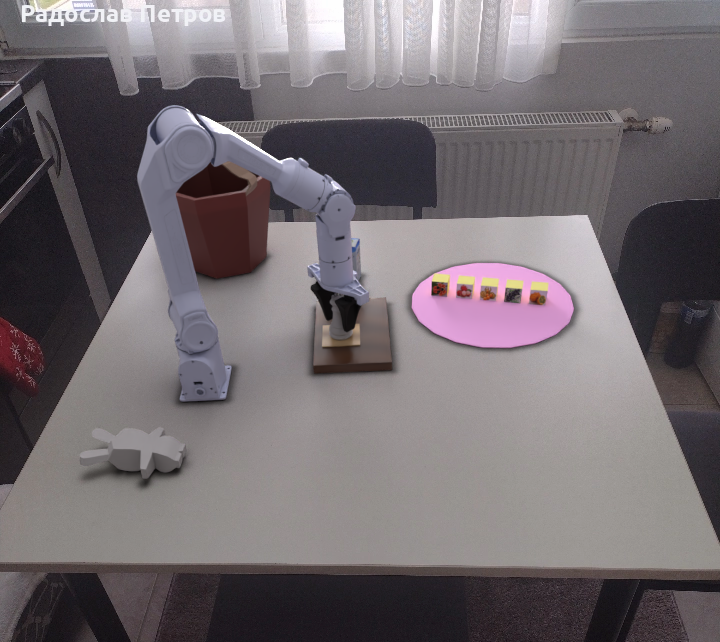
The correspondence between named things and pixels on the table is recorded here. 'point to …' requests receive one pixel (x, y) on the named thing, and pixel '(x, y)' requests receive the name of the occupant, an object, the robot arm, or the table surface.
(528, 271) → the platter
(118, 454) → the bunny figurine
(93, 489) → the table surface
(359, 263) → the medicine box
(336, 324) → the rook chess piece
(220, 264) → the bucket
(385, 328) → the cutting board
